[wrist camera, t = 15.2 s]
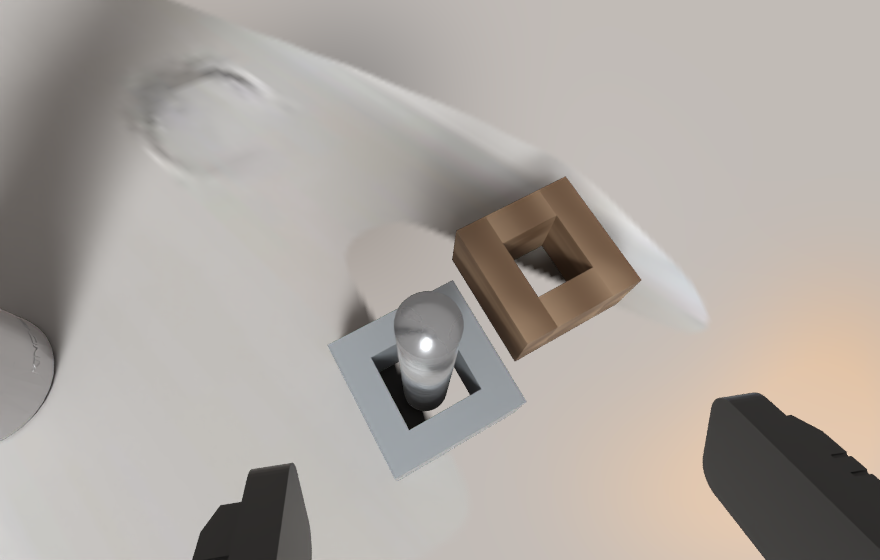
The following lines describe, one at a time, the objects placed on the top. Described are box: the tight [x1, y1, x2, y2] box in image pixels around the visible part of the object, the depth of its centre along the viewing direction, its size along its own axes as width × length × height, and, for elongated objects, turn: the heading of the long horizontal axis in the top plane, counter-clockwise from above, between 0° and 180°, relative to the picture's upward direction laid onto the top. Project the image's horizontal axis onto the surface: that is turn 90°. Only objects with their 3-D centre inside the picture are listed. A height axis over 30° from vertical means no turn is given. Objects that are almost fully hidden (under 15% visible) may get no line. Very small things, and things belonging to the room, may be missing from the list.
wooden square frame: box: [452, 176, 641, 361], centre depth 39 cm, size 9×9×5 cm
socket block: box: [328, 281, 526, 481], centre depth 36 cm, size 9×9×5 cm
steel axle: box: [394, 291, 464, 411], centre depth 31 cm, size 3×3×16 cm
